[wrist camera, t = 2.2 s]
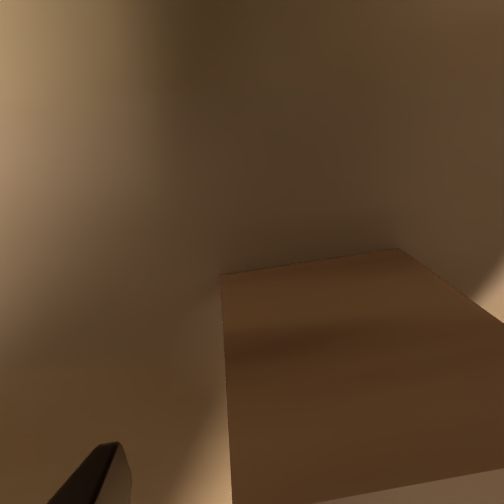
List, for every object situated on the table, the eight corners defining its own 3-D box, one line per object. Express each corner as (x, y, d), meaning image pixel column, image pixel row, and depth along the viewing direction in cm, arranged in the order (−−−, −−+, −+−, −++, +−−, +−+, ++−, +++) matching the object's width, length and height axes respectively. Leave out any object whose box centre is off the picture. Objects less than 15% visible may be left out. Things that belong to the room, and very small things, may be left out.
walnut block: (395, 391, 11) (583, 674, 6) (243, 417, 11) (277, 739, 5) (398, 248, 10) (664, 438, 4) (220, 274, 9) (233, 518, 4)
